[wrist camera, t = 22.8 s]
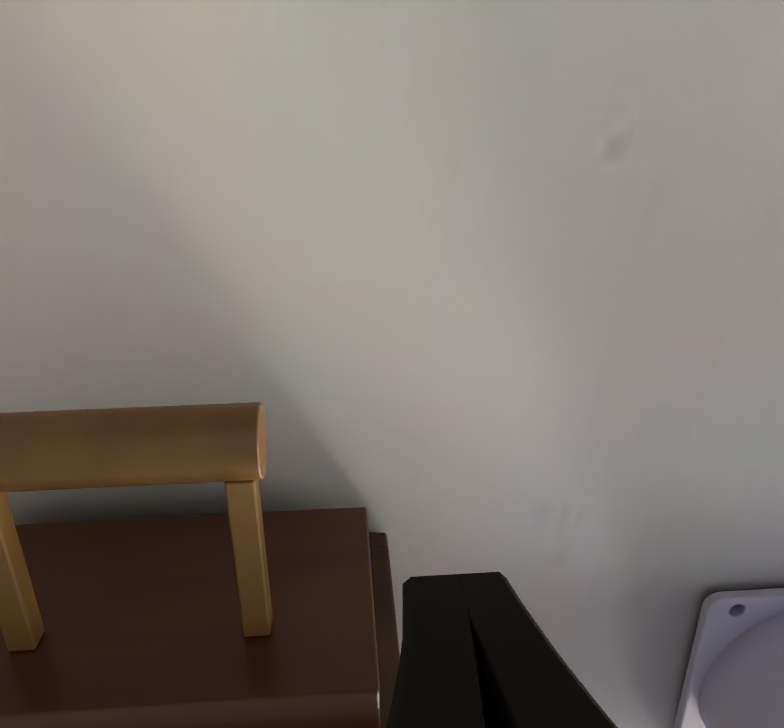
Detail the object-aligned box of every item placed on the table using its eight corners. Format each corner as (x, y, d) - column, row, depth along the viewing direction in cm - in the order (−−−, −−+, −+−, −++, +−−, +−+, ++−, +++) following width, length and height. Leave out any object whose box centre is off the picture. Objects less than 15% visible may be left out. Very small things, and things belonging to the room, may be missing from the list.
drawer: (-69, 334, 17) (-267, 485, 11) (361, 321, 18) (375, 455, 12) (80, 826, 25) (6, 1060, 19) (374, 803, 25) (386, 1022, 20)
